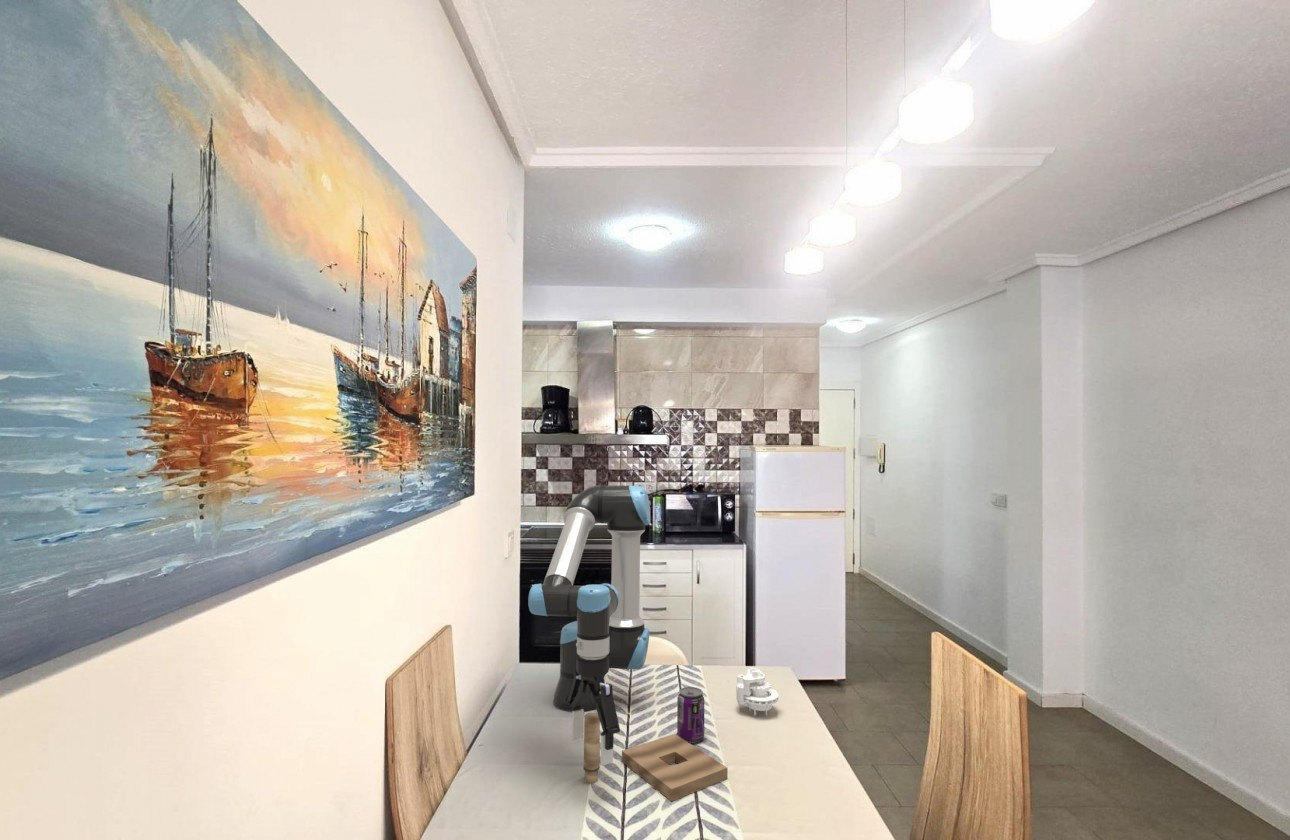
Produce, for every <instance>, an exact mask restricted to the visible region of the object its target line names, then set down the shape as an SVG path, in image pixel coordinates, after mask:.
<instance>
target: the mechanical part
mask: <svg viewBox="0 0 1290 840" xmlns="http://www.w3.org/2000/svg"><path fill="white" fill-rule="evenodd" d="M765 679H766V674H764V673H763V671H761V669H759V668H755V667H752V668H751V667H750V668H749V669H747V670H746V674H745V675H744V674H738V675H737V676H736V688H735V689H736V692H735V693H736V695H735V696H736V701H737V704H738V706H739V707H748V712H751V711H752V710H753V715H754V716H755V717H756V716H757V711H758V712H759V711H760V712H762V711H763V712H764V713H765V717H767V716H768V712H769V711H770V710H771V709H772V708H773V705H774V704H776V703H778V702H779V693H778V691H776V690H775V689H772V684H771V682H768V681H767V680H765Z"/></svg>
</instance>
